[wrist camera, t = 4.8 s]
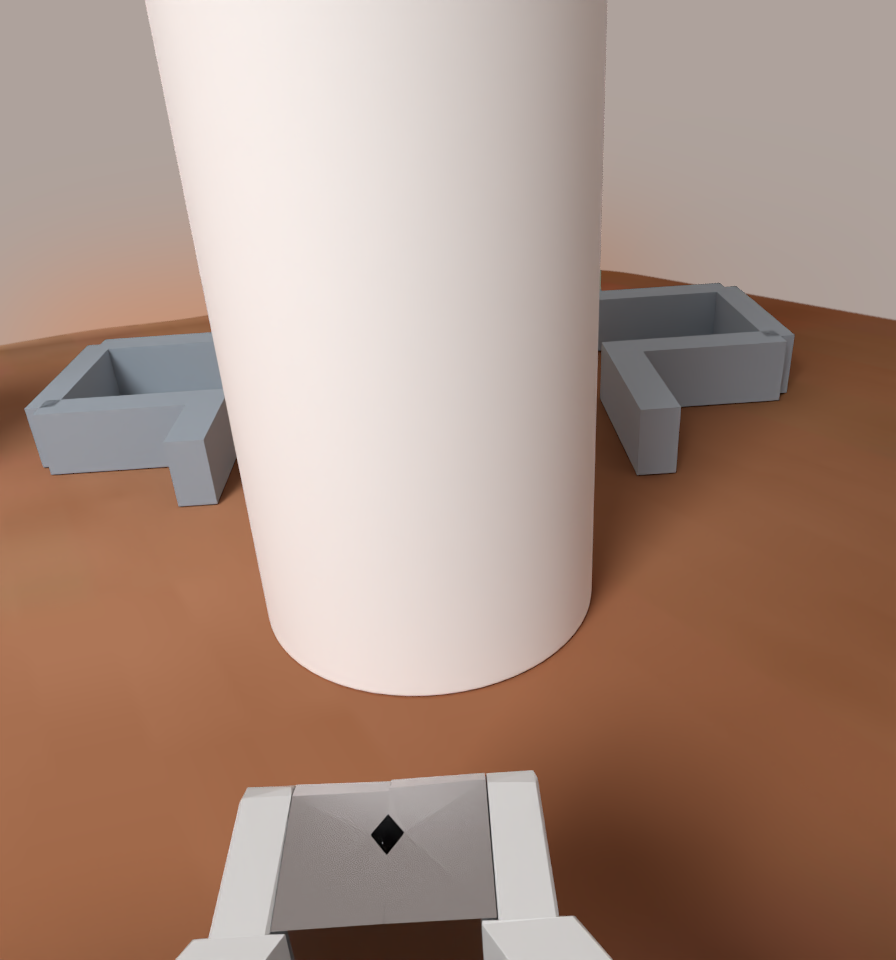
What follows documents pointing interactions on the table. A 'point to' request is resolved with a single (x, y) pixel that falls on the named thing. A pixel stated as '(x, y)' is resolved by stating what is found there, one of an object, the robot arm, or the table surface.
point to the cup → (402, 315)
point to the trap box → (206, 427)
